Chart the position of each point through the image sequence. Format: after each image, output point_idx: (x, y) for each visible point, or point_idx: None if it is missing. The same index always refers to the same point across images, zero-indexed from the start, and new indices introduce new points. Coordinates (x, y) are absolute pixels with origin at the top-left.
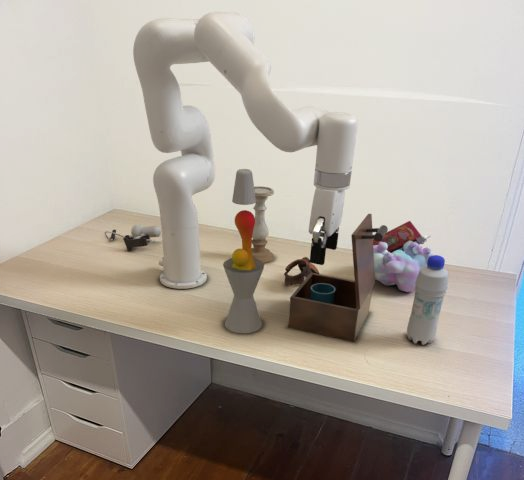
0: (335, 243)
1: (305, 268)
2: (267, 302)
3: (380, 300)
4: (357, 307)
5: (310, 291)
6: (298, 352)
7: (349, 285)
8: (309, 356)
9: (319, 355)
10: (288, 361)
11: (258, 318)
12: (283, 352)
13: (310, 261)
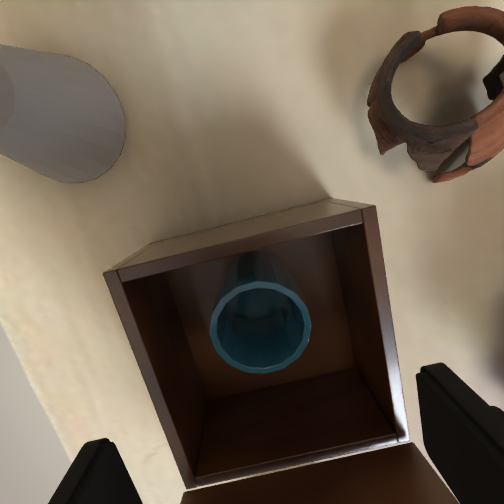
0: (459, 501)
1: (443, 129)
2: (237, 90)
3: (451, 357)
4: (182, 500)
5: (230, 287)
6: (68, 332)
7: (378, 360)
8: (74, 360)
9: (95, 374)
10: (18, 335)
11: (71, 169)
12: (39, 305)
13: (87, 448)
